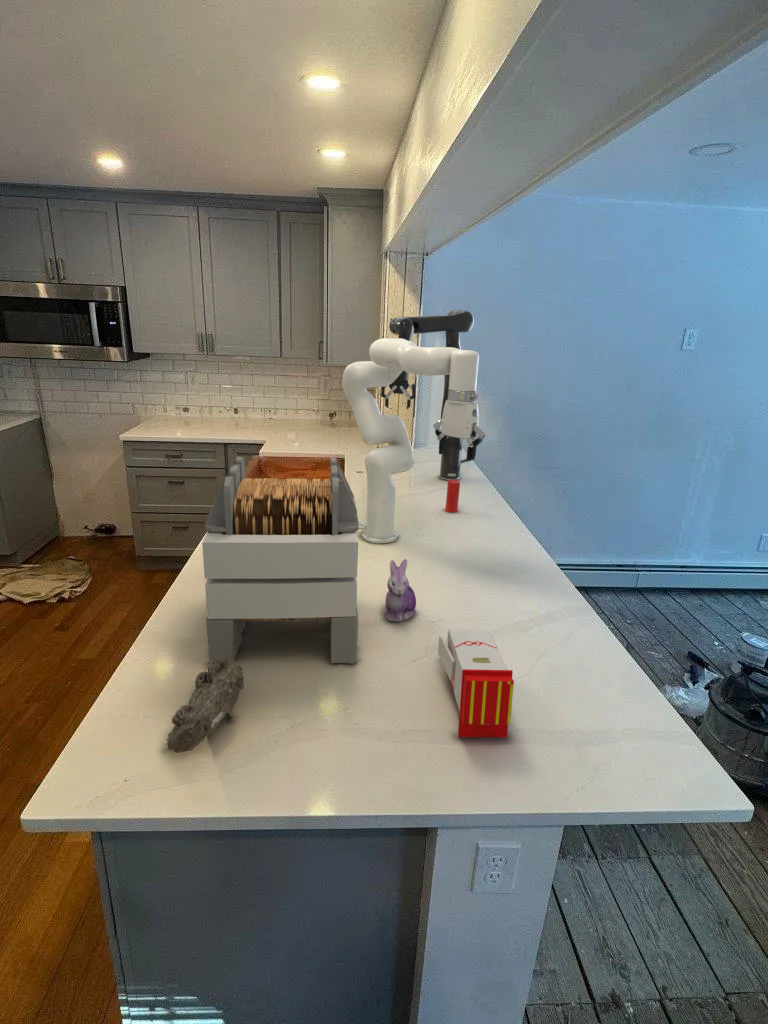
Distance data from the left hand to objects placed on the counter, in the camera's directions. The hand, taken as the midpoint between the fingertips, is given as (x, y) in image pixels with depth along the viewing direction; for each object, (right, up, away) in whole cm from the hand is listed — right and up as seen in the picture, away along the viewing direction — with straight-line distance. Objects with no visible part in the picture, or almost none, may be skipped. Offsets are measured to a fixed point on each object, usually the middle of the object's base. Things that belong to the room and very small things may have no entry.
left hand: (456, 456), depth 162 cm
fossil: (-54, -55, -54) cm, 94 cm away
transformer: (-45, -44, -23) cm, 67 cm away
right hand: (-15, +28, +76) cm, 82 cm away
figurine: (-17, -42, -15) cm, 48 cm away
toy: (-3, -54, -44) cm, 69 cm away
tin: (+6, -15, +63) cm, 65 cm away
